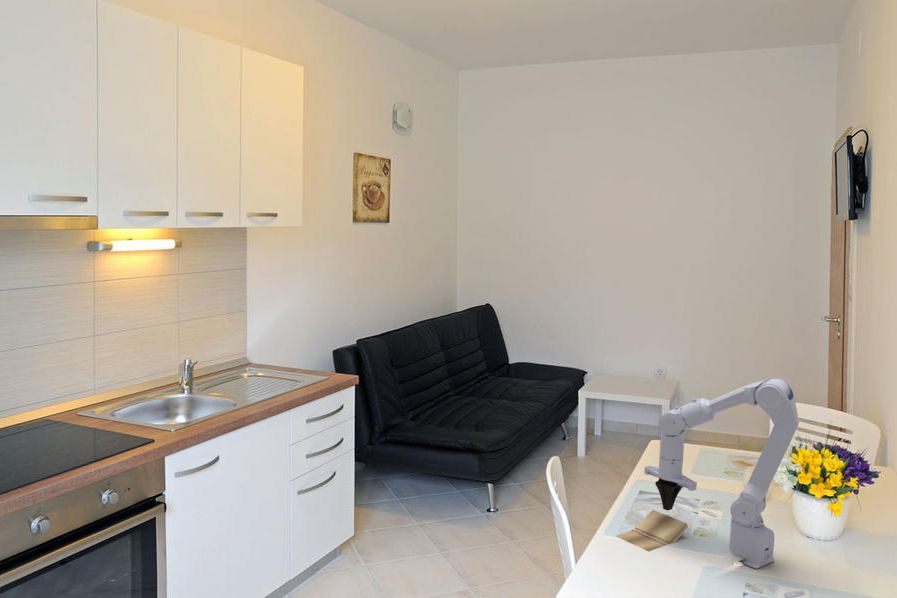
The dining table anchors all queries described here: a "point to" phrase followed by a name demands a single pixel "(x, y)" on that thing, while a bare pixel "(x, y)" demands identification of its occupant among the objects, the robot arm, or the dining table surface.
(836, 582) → the dining table surface
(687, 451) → the dining table surface
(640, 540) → the laid board
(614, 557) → the dining table surface
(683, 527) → the plank
